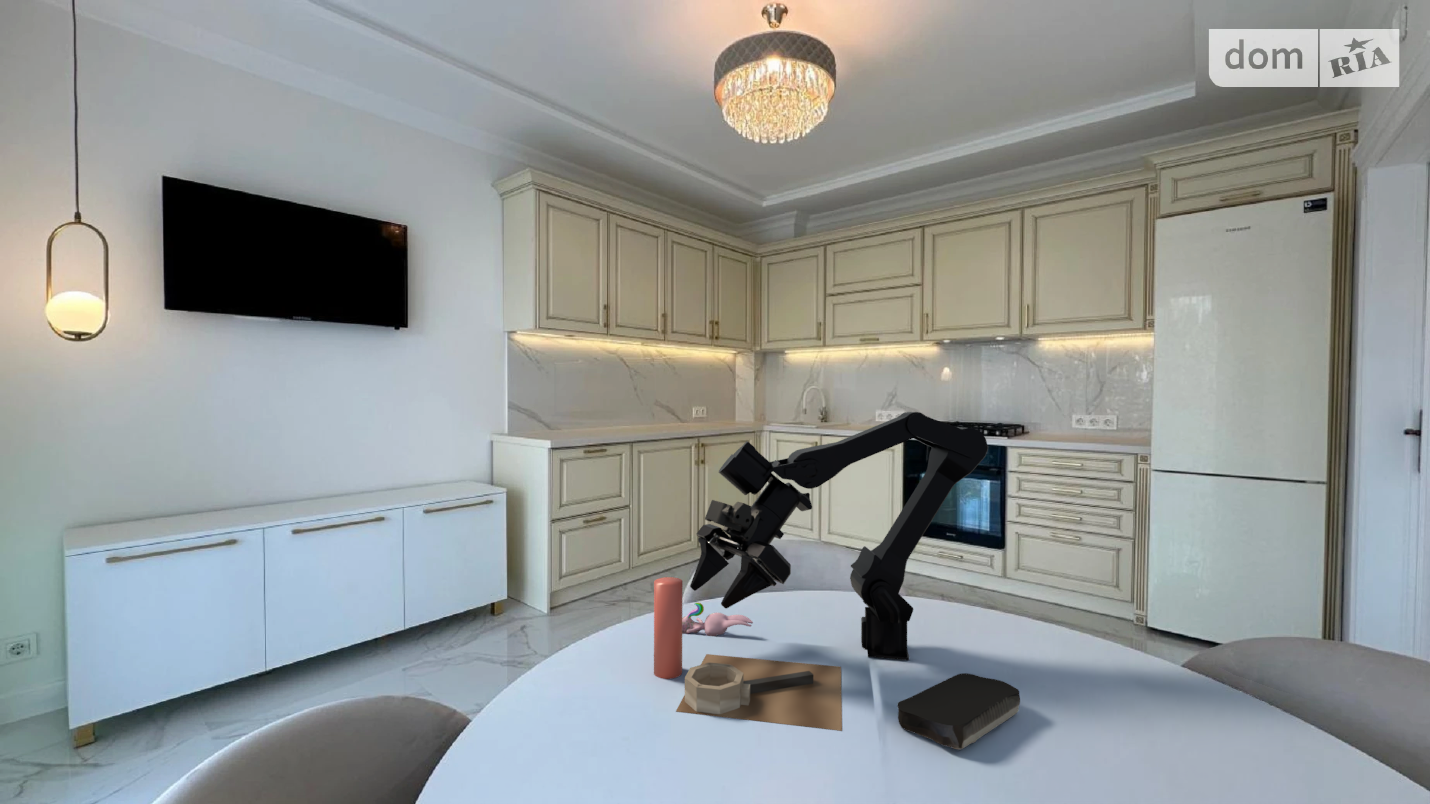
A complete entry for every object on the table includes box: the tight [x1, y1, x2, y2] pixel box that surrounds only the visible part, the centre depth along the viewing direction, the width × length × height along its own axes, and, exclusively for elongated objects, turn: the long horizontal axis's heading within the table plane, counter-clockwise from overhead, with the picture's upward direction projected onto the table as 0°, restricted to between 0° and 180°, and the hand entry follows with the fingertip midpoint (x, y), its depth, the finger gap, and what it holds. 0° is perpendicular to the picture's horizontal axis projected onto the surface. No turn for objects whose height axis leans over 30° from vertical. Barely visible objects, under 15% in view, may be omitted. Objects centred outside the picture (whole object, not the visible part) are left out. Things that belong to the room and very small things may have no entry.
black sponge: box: [896, 672, 1021, 750], centre depth 72 cm, size 16×8×4 cm, turn 127°
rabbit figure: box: [682, 602, 754, 637], centre depth 98 cm, size 6×6×15 cm
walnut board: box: [675, 653, 843, 732], centre depth 78 cm, size 20×17×4 cm
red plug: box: [653, 576, 683, 680], centre depth 82 cm, size 4×4×14 cm
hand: (707, 597), depth 85 cm, fingers open, 9 cm apart
